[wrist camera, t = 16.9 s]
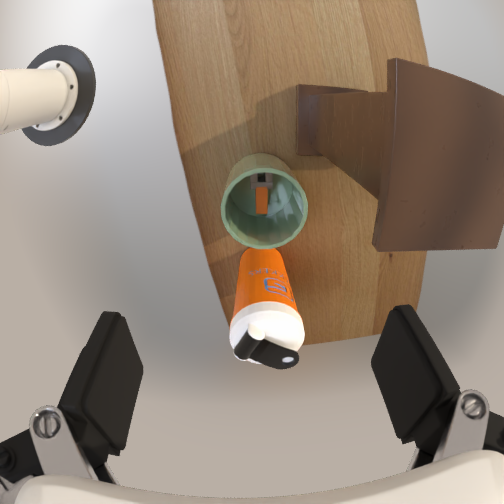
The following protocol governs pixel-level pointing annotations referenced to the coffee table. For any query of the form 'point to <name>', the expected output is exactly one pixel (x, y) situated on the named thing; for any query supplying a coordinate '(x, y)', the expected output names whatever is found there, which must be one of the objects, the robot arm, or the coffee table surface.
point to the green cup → (279, 203)
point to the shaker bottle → (265, 312)
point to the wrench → (261, 191)
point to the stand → (415, 154)
